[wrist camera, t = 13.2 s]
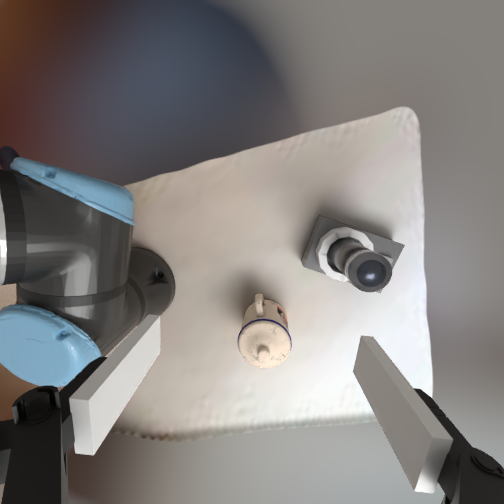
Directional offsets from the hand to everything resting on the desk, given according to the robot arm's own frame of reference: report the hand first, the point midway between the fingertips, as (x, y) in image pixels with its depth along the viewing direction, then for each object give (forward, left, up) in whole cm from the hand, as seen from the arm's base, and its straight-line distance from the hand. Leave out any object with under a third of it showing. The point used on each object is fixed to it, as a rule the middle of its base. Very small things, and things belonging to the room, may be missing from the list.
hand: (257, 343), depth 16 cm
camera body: (+14, +4, -30) cm, 34 cm away
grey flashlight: (+12, +5, -26) cm, 29 cm away
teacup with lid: (+4, -13, -31) cm, 33 cm away
